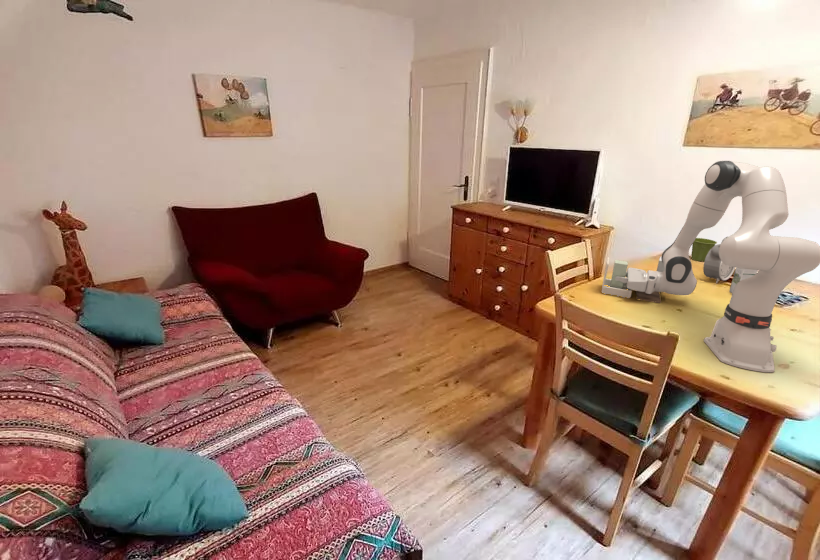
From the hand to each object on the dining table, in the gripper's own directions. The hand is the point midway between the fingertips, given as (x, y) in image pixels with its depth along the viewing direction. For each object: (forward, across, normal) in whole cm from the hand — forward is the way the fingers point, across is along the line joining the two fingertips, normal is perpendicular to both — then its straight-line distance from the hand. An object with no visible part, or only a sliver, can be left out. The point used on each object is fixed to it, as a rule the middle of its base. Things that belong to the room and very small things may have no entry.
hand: (615, 275), depth 183 cm
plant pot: (-43, -74, +8) cm, 86 cm away
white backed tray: (-1, 0, +8) cm, 8 cm away
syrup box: (-51, -22, +8) cm, 56 cm away
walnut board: (-14, 0, +8) cm, 16 cm away
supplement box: (-21, -20, +8) cm, 30 cm away
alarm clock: (-45, -39, +8) cm, 60 cm away
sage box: (-1, 0, +8) cm, 8 cm away
